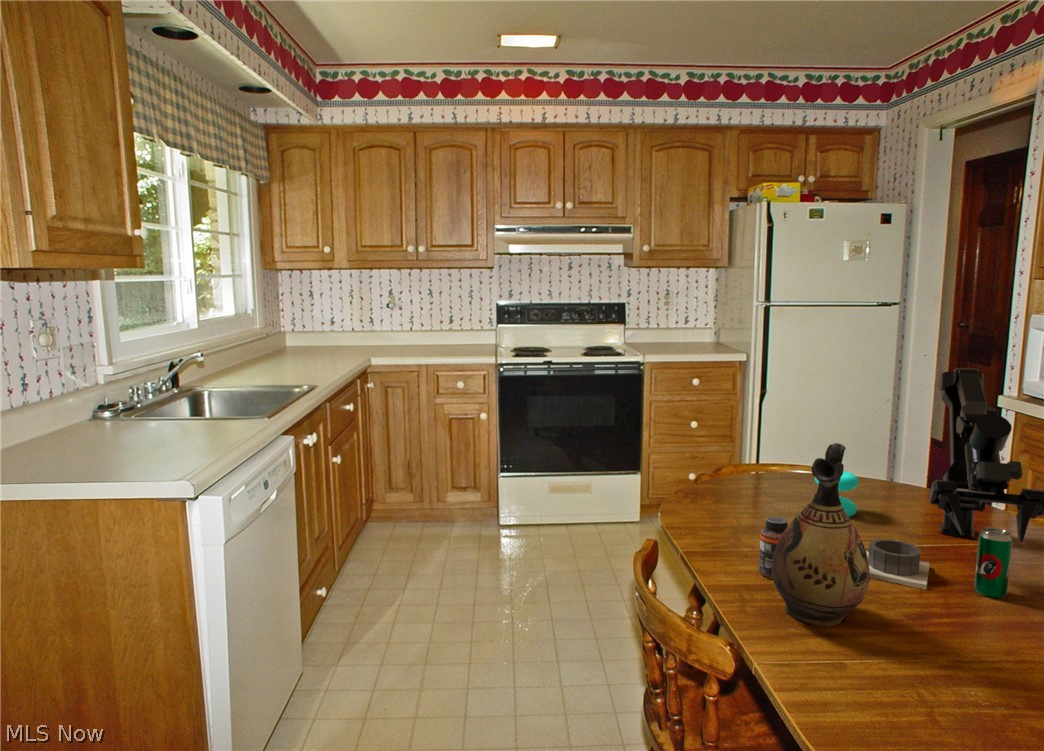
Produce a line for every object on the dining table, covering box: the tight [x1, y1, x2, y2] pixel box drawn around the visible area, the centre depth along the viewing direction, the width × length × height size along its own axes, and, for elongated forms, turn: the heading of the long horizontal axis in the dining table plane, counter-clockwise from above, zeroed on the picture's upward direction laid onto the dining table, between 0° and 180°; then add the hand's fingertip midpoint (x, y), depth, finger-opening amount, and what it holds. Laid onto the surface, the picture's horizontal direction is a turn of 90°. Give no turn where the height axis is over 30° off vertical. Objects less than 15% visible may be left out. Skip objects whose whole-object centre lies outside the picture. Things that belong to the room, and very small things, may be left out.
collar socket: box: [866, 538, 930, 591], centre depth 134 cm, size 12×12×5 cm
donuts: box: [814, 470, 860, 518], centre depth 168 cm, size 10×10×10 cm
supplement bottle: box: [758, 516, 788, 580], centre depth 132 cm, size 6×6×11 cm
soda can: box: [973, 526, 1014, 599], centre depth 124 cm, size 5×5×12 cm
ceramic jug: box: [772, 442, 871, 627], centre depth 116 cm, size 17×15×30 cm
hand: (991, 537), depth 125 cm, fingers open, 9 cm apart
